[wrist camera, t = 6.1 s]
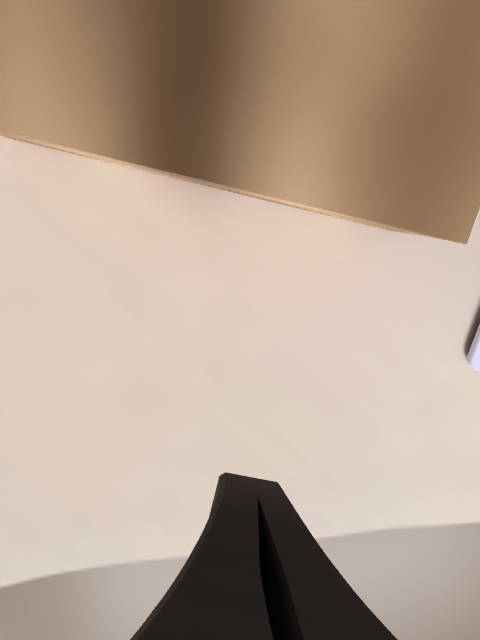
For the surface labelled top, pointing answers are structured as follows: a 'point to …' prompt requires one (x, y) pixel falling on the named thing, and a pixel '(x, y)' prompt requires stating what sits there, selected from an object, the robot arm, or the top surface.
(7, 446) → the top surface
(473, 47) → the box lid
